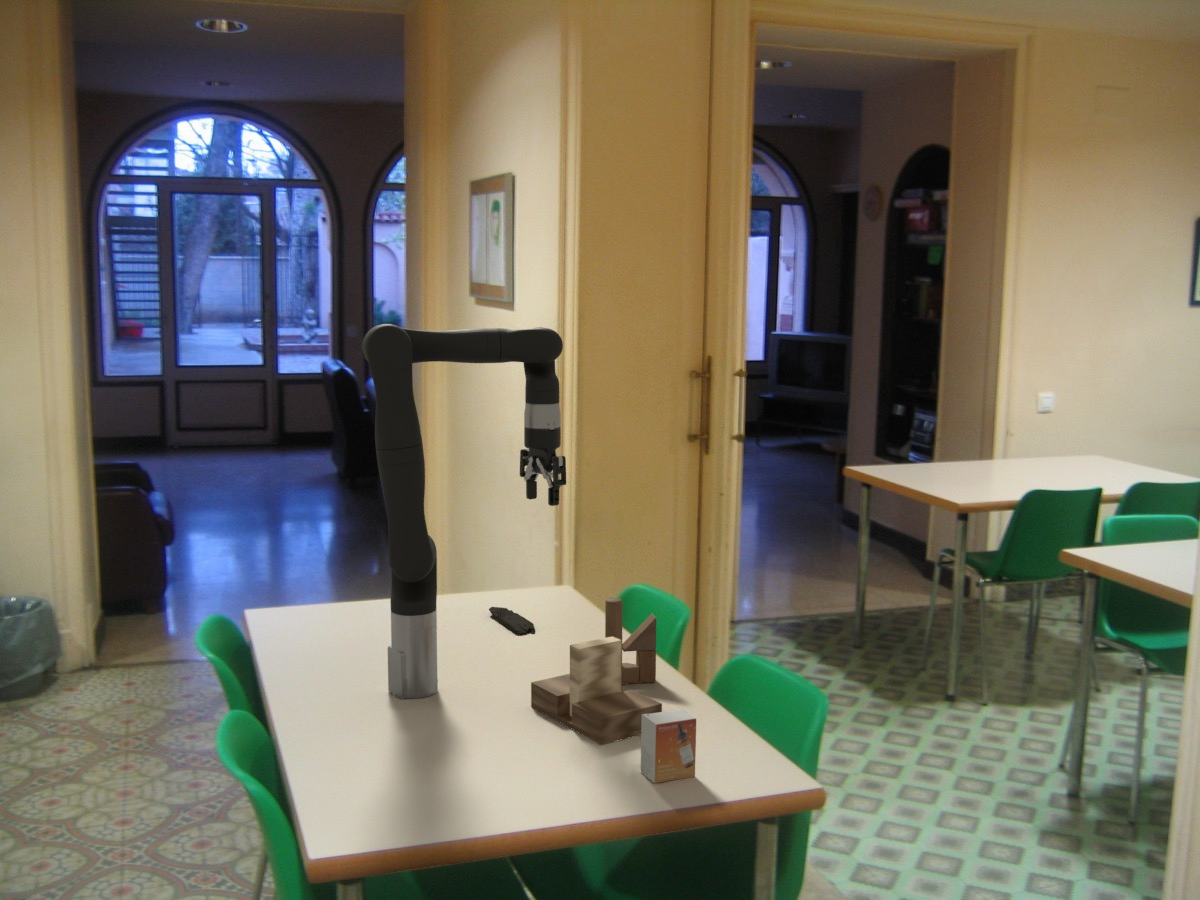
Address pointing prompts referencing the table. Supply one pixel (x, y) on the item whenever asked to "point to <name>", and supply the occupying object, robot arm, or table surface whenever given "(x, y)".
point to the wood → (512, 621)
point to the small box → (668, 745)
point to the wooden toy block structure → (633, 643)
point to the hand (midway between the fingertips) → (542, 502)
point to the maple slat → (594, 669)
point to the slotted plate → (593, 710)
